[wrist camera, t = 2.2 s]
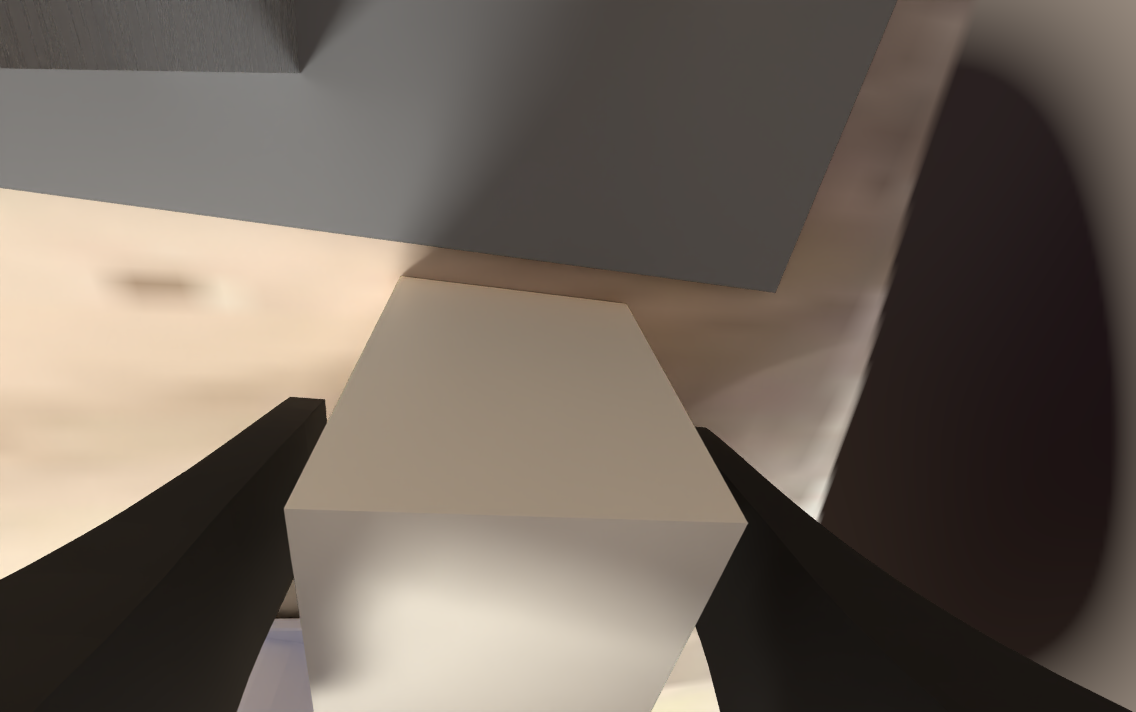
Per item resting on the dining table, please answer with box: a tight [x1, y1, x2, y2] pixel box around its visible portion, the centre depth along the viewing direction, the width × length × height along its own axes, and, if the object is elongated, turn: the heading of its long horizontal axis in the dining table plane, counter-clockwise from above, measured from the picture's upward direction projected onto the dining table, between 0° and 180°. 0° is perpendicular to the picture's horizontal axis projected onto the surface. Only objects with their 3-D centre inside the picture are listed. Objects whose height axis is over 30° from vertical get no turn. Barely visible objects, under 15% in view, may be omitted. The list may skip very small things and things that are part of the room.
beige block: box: [284, 276, 748, 712], centre depth 9 cm, size 5×5×7 cm
